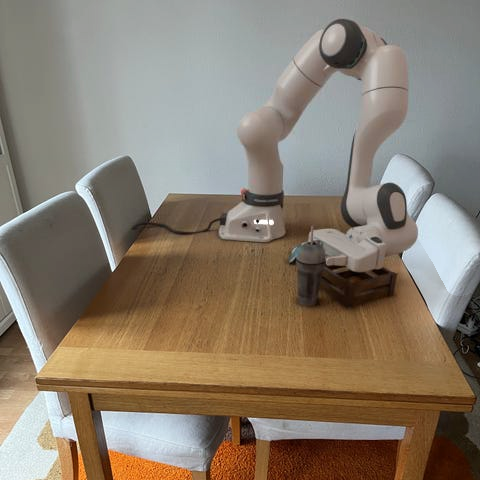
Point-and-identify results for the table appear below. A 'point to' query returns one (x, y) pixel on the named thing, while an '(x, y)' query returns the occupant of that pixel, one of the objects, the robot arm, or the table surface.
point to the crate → (357, 284)
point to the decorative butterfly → (294, 253)
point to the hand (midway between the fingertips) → (313, 254)
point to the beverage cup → (309, 271)
